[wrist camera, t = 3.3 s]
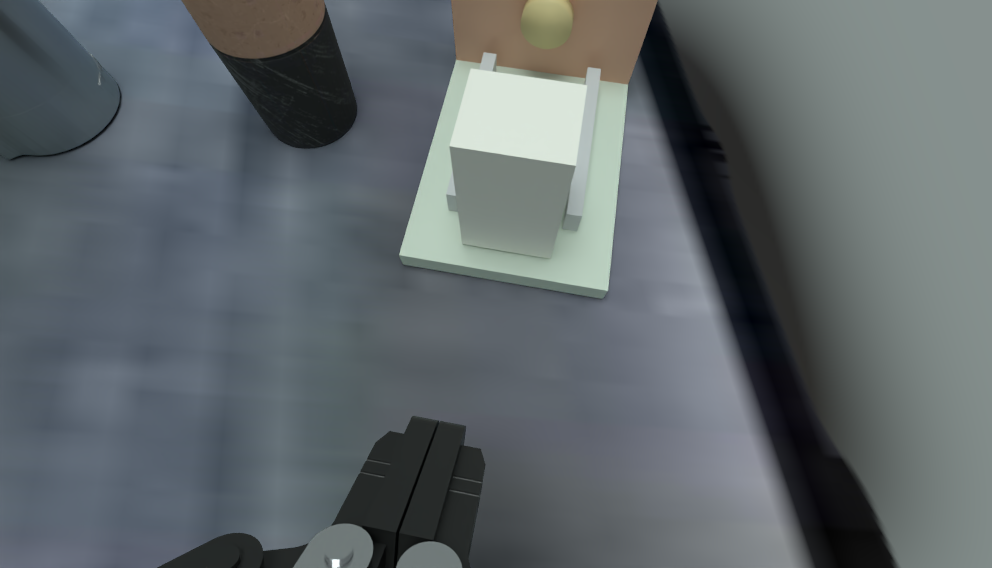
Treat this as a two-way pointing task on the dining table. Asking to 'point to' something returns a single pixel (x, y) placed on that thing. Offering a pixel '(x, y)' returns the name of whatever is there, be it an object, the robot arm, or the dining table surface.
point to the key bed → (593, 192)
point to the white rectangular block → (515, 159)
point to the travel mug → (283, 64)
